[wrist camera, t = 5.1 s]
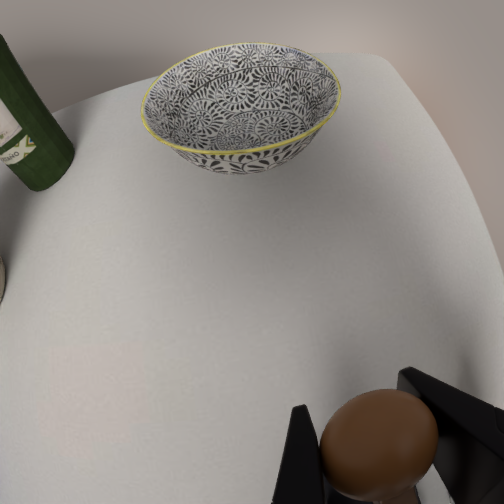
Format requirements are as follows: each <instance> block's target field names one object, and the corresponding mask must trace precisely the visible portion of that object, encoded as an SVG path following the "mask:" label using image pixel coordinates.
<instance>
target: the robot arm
mask: <svg viewBox="0 0 504 504" xmlns="http://www.w3.org/2000/svg"><path fill="white" fill-rule="evenodd" d="M397 390H400V391H404V392H407V393H410V394H412V395H414V396H415V397H417V398H419V399H420V400H421V401H422V402H424V403H425V404H426V405H427V407H428V408H429V409H430V410H431V412H432V414H433V416H434V418H435V420H436V423H437V428H438V434H439V437H438V448H437V452H436V455H435V458H434V460H433V462H432V463H433V464H434V466H435V468H436V470H437V472H438V473H439V475H440V477H441V479H442V481H443V483H444V484H445V486H446V488H447V490H448V492H449V494H450V496H451V497H452V499H453V501H454V503H455V504H504V410H502V409H500V408H497V407H494V406H493V405H491V404H488V403H486V402H484V401H482V400H480V399H478V398H476V397H473V396H471V395H469V394H467V393H465V392H463V391H461V390H459V389H457V388H454V387H452V386H450V385H448V384H446V383H444V382H442V381H440V380H438V379H436V378H434V377H432V376H430V375H428V374H426V373H424V372H421V371H419V370H417V369H415V368H413V367H407V368H404V369H402V370H400V371H399V373H398V381H397ZM272 501H273V502H272V503H271V504H327V501H326V493H325V485H324V477H323V472H322V468H321V461H320V454H319V446H318V441H317V436H316V432H315V429H314V426H313V423H312V420H311V417H310V414H309V412H308V409H307V406H306V405H305V404H303V405H299V406H295V407H293V409H292V412H291V417H290V423H289V428H288V433H287V437H286V442H285V447H284V452H283V456H282V461H281V465H280V470H279V474H278V478H277V482H276V487H275V491H274V495H273V499H272Z"/></svg>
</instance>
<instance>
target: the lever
mask: <svg viewBox="0 0 504 504" xmlns="http://www.w3.org/2000/svg"><path fill="white" fill-rule="evenodd" d="M438 437H439V434H438V428H437V423H436V420H435V418H434V416H433V414H432V412H431V410H430V409H429V408H428V407H427V405H426V404H425V403H424V402H422V401H421V400H420V399H419V398H417V397H415V396H414V395H412V394H410V393H407V392H404V391H400V390H395V389H379V390H373V391H370V392H366V393H363V394H361V395H359V396H356V397H355V398H353V399H351V400H349V401H348V402H347V403H345V404H344V405H343V406H342V407H340V408H339V409H338V410H337V411H336V412H335V413H334V415H333V416H332V417H331V419H330V420H329V422H328V423H327V425H326V427H325V429H324V431H323V433H322V436H321V439H320V445H319V454H320V461H321V468H322V472H323V474H324V476H325V478H326V480H327V481H328V482H329V484H330V485H331V486H332V487H333V488H334V489H336V490H337V491H338V492H339V493H341V494H343V495H344V496H346V497H349V498H351V499H355V500H359V501H366V502H373V503H374V504H418V500H417V495H416V490H415V486H414V485H415V484H417V483H418V482H419V481H420V480H421V479H422V478H423V476H424V475H425V474H426V473H427V471H428V470H429V468H430V466H431V464H432V462H433V460H434V458H435V455H436V452H437V448H438Z"/></svg>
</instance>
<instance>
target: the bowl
mask: <svg viewBox="0 0 504 504" xmlns="http://www.w3.org/2000/svg"><path fill="white" fill-rule="evenodd" d="M340 97H341V88H340V84H339V82H338V79H337V77H336V76H335V74H334V73H333V71H332V70H331V69H330V68H329V67H328V66H327V65H326V64H325V63H323V62H322V61H321V60H319V59H318V58H316V57H314V56H312V55H311V54H309V53H306V52H304V51H301V50H299V49H296V48H292V47H288V46H284V45H279V44H272V43H259V42H258V43H257V42H253V43H252V42H249V43H236V44H229V45H224V46H219V47H215V48H211V49H208V50H205V51H202V52H199V53H197V54H194V55H192V56H189V57H188V58H185V59H184V60H182V61H180V62H178V63H176V64H175V65H173V66H172V67H170V68H169V69H168V70H167V71H165V72H164V73H163V74H161V75H160V76H159V77H158V78H157V79H156V80H155V81H154V83H153V84H152V85H151V86H150V88H149V89H148V91H147V92H146V94H145V96H144V99H143V102H142V106H141V118H142V121H143V124H144V126H145V127H146V129H147V130H148V131H149V133H150V134H151V135H152V136H154V137H155V138H156V139H157V140H159V141H160V142H162V143H164V144H166V145H168V146H170V147H171V148H172V149H173V150H175V151H176V152H177V153H178V154H180V155H181V156H182V157H183V158H185V159H187V160H188V161H190V162H191V163H193V164H195V165H197V166H199V167H202V168H204V169H207V170H210V171H214V172H218V173H224V174H251V173H257V172H262V171H265V170H269V169H271V168H274V167H277V166H279V165H281V164H283V163H285V162H287V161H288V160H290V159H292V158H293V157H294V156H296V155H297V154H298V153H300V152H301V151H302V150H303V149H304V148H305V147H306V146H307V145H308V144H309V143H310V142H311V140H312V139H313V138H314V136H315V135H316V134H317V132H318V130H319V129H320V128H321V126H322V125H324V124H325V123H326V122H327V121H328V120H329V119H330V118H331V117H332V115H333V114H334V112H335V111H336V109H337V107H338V104H339V102H340Z"/></svg>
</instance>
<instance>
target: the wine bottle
mask: <svg viewBox="0 0 504 504" xmlns="http://www.w3.org/2000/svg"><path fill="white" fill-rule="evenodd" d="M73 156H74V147H73V144H72V143H71V141H70V140H69V139H68V137H67V136H66V134H65V133H64V132H63V130H62V129H61V127H60V126H59V124H58V123H57V122H56V120H55V119H54V117H53V116H52V114H51V113H50V111H49V110H48V109H47V107H46V106H45V104H44V103H43V101H42V100H41V98H40V97H39V95H38V93H37V92H36V91H35V89H34V87H33V86H32V84H31V83H30V81H29V80H28V78H27V76H26V75H25V73H24V72H23V70H22V68H21V67H20V65H19V63H18V62H17V60H16V58H15V57H14V55H13V53H12V52H11V50H10V48H9V47H8V45H7V43H6V41H5V40H4V38H3V36H2V35H1V34H0V159H1V160H2V161H3V162H4V163H5V164H6V165H7V166H8V167H9V168H10V169H11V170H12V171H13V172H14V173H15V174H16V175H17V176H18V178H19V179H20V180H21V181H22V182H23V183H24V184H25V185H26V186H27V187H28V188H29V189H30V190H34V191H42V190H45V189H47V188H49V187H50V186H52V185H53V184H54V183H56V182H57V181H58V180H59V179H60V178H61V177H62V176H63V175H64V174H65V172H66V171H67V169H68V168H69V166H70V164H71V162H72V160H73Z"/></svg>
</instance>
